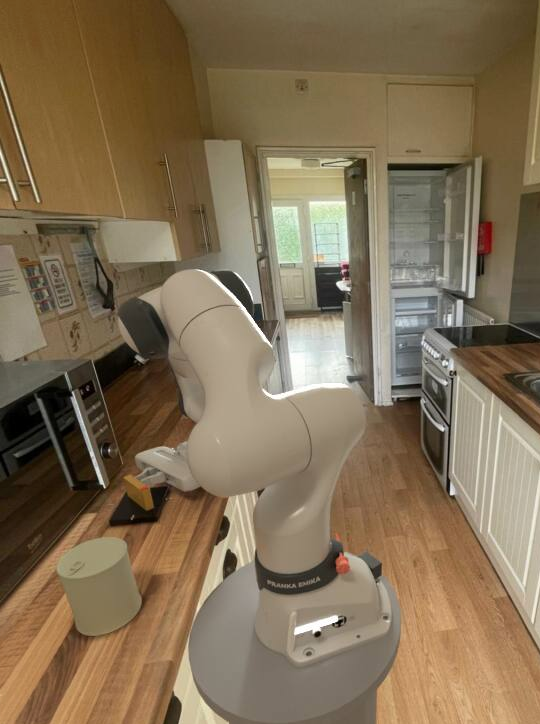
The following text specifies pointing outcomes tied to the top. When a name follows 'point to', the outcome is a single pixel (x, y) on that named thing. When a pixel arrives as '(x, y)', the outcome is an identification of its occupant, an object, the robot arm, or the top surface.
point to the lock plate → (139, 508)
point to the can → (99, 585)
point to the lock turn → (138, 492)
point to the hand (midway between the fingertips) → (138, 482)
